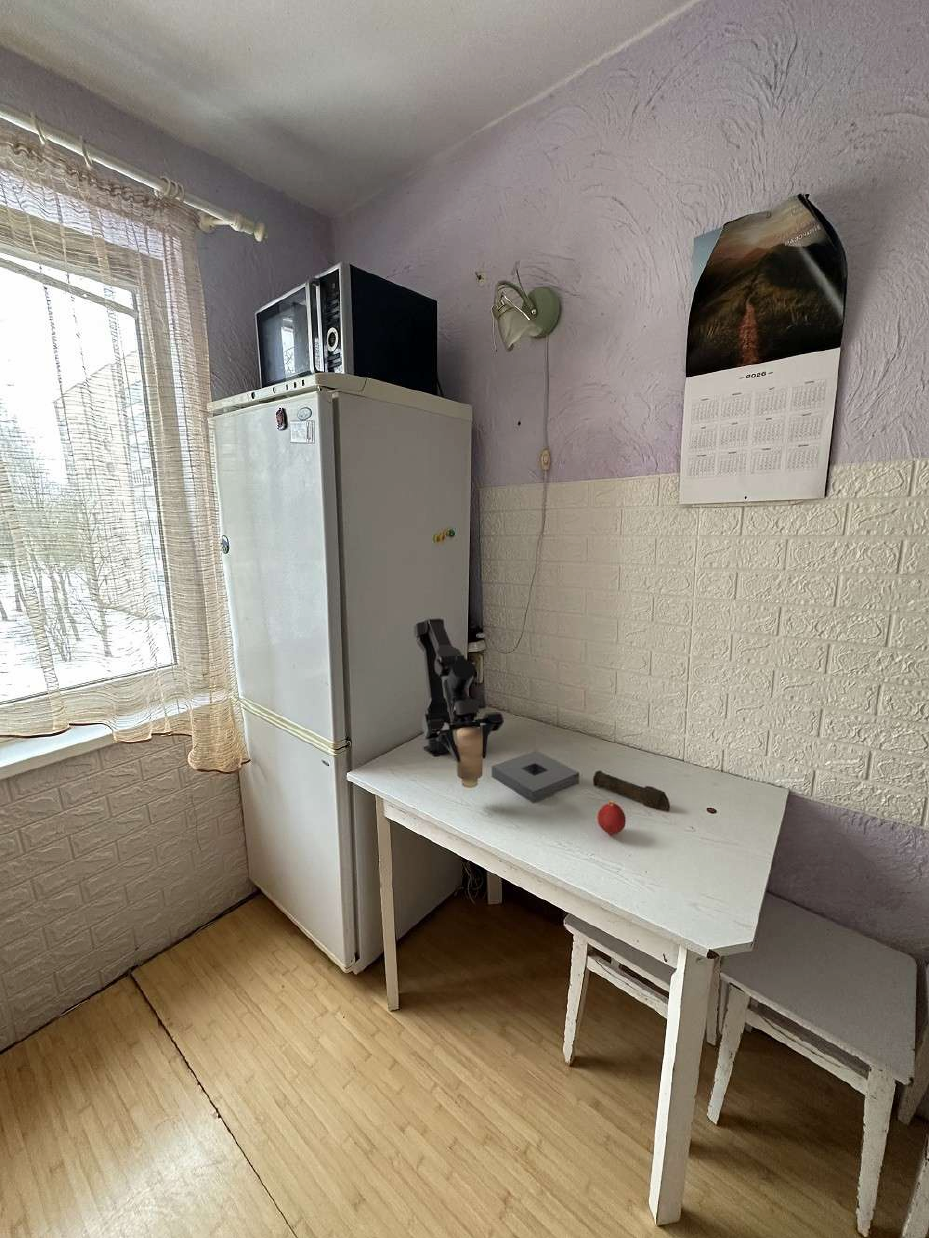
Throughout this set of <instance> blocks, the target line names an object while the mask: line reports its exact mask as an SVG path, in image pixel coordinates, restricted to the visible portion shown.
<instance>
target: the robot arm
mask: <svg viewBox="0 0 929 1238" xmlns="http://www.w3.org/2000/svg"><path fill="white" fill-rule="evenodd" d="M413 634H414V638H415V639H416V644H417V646H418V647H419V648H420V649H421V651H422V652H423V659H424V668H425V675H426V676H425V677H426V686H427V693H428V700H427V701H428V702H427V703H426V706H425V707H424V708H425V709H424V714H423V717H422V720H421V730H422V731H423V733H424V734H423V735H424V740H427V745H426V746H423V747H422V748H423V750H424V751H426V752H427V753H429V754H430V755H431V756H433V757H436V756H439V755H440V756H441V755H442V754H446V753H450V755H451V756H452V757H453V759H454V760H455V762H456V764H457V763H458V762H459V755H458V751H457V743H456V742H455V741H456V740H455V737H454V731H457V730H458V729H460V728H463V727H476V728H479V729H481V730H482V731H483V760H484V759H486V757H487V747H488V738H489V735H490V734H491V732H497V731H499V730H500V728H501V727H502V726H503V724H504V722H505V720H504V719H505V718H504V716H503V715H502V713H501V712H499V711H495V712H486V713H485V714H484V716H483V718H477V716H478V714H479V713H480V710H484V709H486V708H487V704H486V698H485V695H484V694H480V695H479V694H478V695H475V696H474V699H472V697H471V696H470V695H469V690H468V688H469V687H470V686H471V683H472V681H473V679H474V676H475V675H476V665H474V663H473V662H472V661H470V660H469V659H467V658H465V655H464V654H462V652H461V651H460V649H459V648H457V647H454V646H453V644H452V642H451V640H450V638H449V635H448V632H447V631H446V627H445V622H444V619H443V618H440V617H439V618H428V619H425V620H424V621H418V622H417V623H416V624H415V625H414V627H413ZM444 677H445V678H446V677H447V678H446V679H445V680H444V682H443V678H444ZM475 718H477V719H475Z"/></svg>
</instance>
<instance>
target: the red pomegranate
mask: <svg viewBox="0 0 929 1238" xmlns="http://www.w3.org/2000/svg"><path fill="white" fill-rule="evenodd" d="M626 821H627V819H626V814H625V812H624V810H623V809H622V808H621V806H619V804H617V803H616V802H615V801H614V800H609V801H608V803H605V804H603V805H602V806H601V807H600V809H599V810H598V813H597V823H598V826H599V827H600V828H601V830H602V831H603V832H605V833H606V834H607V835H609V836H614V835H617V834H620V833H621V832H622V831H623V830H624V829H625V827H626Z"/></svg>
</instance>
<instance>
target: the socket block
mask: <svg viewBox="0 0 929 1238" xmlns="http://www.w3.org/2000/svg"><path fill="white" fill-rule="evenodd" d="M491 777H492V778H493V779H495V780H496V781H498V782H499V783H501V784H502V785H503V786H505V787H507V788H509V789H510V790H512V791H513V792H514V793H516V794H519V795H520V796H522V797H523V798H524V799H526V800H528V801H530V802H531V803H532V804H534V803H537V802H538V801H541V800H543V799H546V798H548V797H550V796H552V795H555V794H557V793H560V792H562V791H564V790H567V789H569V788H571V787H574V786H576V785H578V784H579V783H580V782H579V781H580V772H579V771H577V770H575V769H573V768H571V767H569V766H568V765H565V764H563V763H562V762H560V761H557V760H556V759H553V758H551V757H550V756H548V755H546V754H544V753H542V752H540V751H537V750H534V751H531V752H528V753H525V754H522V755H519V756H516V757H514V758H511V759H507V760H505V761H502V762H500V763H499V762H498V763H497V764H494V765H492V766H491Z"/></svg>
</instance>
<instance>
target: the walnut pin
mask: <svg viewBox="0 0 929 1238" xmlns="http://www.w3.org/2000/svg"><path fill="white" fill-rule="evenodd" d="M456 748H457V751H458V755H459V762H458V763H457V762H456V776H457V777H458V778H459V779H461V785H462V787H464V788H468V789H469V788H470V789H472V788H475V787H477V786H478V783H479V779H481V777H482V776H483V762H484V761H483V760H484V759H483V731H482V730H481V729H479V728H476V727H463V728H460V729H458V730H456Z"/></svg>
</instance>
